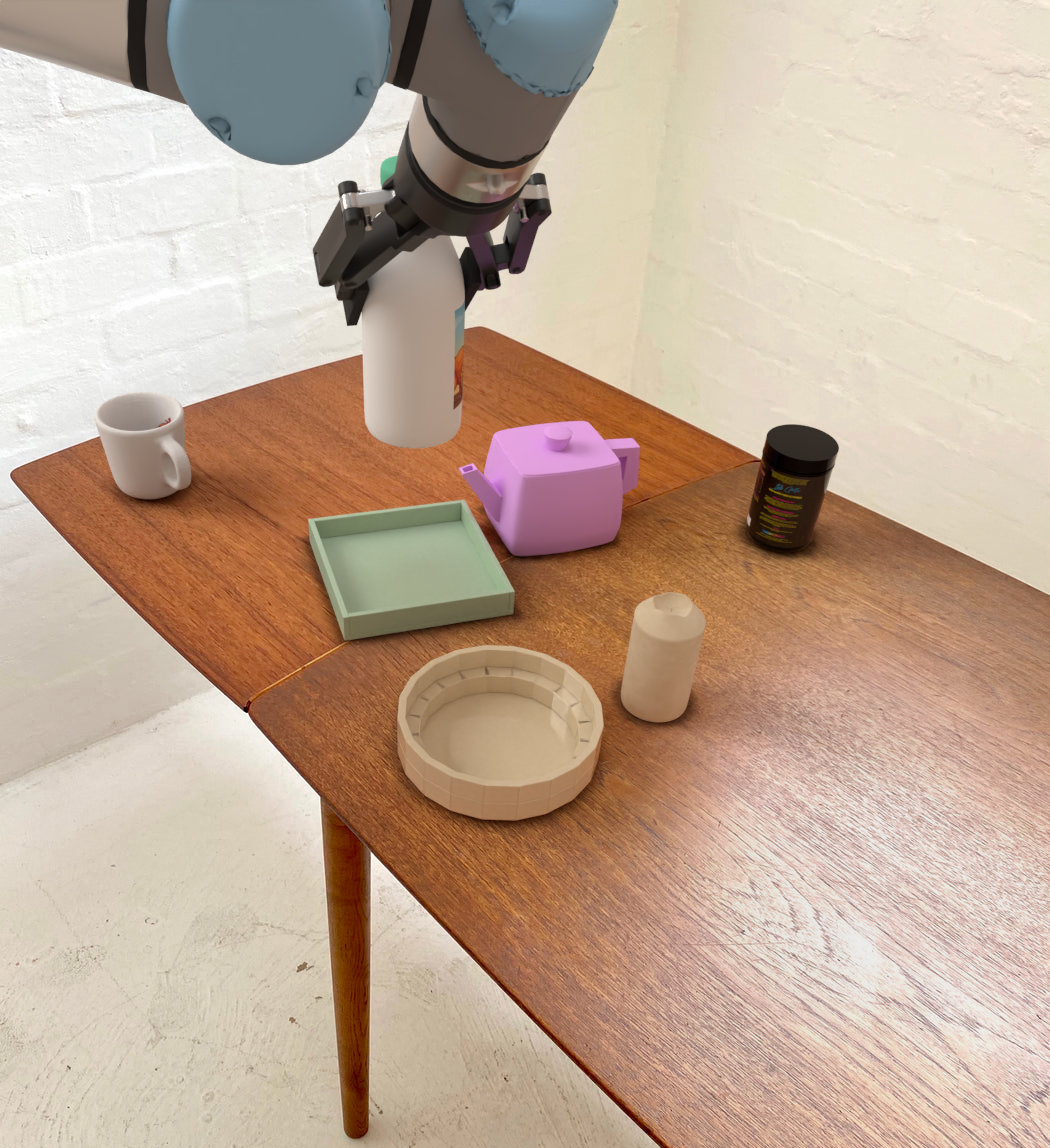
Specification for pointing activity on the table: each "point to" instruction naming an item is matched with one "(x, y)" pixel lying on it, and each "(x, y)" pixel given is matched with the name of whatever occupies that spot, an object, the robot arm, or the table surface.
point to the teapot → (555, 486)
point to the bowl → (499, 732)
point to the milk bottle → (414, 344)
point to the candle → (662, 657)
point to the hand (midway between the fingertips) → (402, 304)
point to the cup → (145, 443)
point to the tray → (408, 569)
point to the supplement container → (790, 487)
